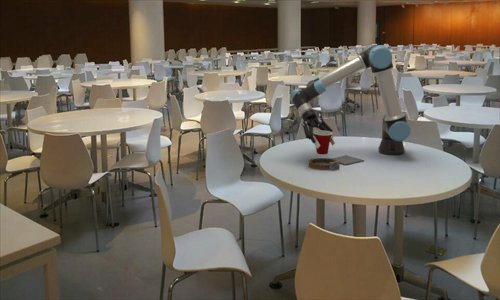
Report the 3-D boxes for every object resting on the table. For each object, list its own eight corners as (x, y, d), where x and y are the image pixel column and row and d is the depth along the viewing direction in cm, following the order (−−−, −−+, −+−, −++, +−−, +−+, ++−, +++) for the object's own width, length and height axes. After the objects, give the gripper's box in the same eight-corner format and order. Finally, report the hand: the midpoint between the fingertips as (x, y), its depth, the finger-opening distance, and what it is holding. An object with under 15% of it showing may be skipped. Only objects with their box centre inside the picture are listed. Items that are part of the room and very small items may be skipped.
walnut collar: (324, 160, 285) (324, 153, 284) (346, 167, 270) (346, 160, 269) (303, 165, 277) (303, 158, 276) (324, 172, 262) (324, 165, 261)
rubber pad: (346, 156, 293) (346, 155, 293) (363, 161, 281) (363, 160, 281) (328, 160, 285) (328, 159, 285) (345, 165, 274) (345, 164, 274)
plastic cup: (332, 156, 267) (332, 133, 264) (311, 155, 269) (311, 133, 266) (333, 150, 277) (333, 129, 274) (313, 150, 279) (313, 129, 276)
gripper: (319, 114, 287) (338, 146, 278) (288, 120, 275) (306, 153, 266) (325, 106, 282) (345, 138, 272) (293, 111, 270) (313, 145, 261)
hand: (326, 145), depth 269 cm, fingers closed on plastic cup, 10 cm apart
